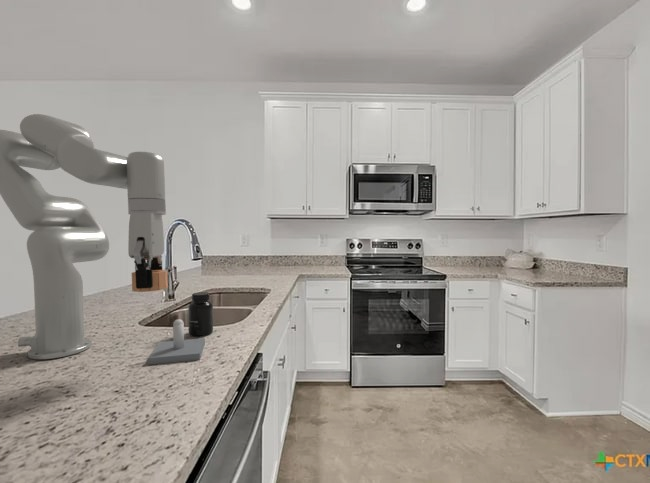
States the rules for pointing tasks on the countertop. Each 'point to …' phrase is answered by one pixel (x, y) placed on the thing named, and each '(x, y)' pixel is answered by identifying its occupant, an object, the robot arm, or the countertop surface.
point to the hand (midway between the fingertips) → (150, 284)
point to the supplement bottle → (200, 315)
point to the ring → (158, 281)
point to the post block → (177, 347)
